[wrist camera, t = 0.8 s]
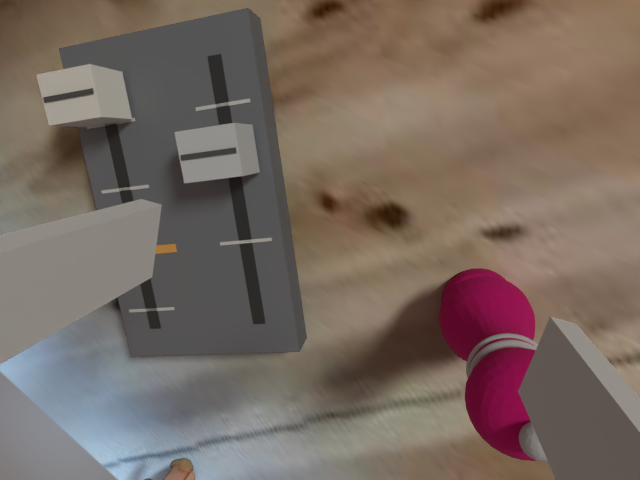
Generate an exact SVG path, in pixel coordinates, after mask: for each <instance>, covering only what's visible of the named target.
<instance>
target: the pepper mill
mask: <svg viewBox="0 0 640 480" xmlns="http://www.w3.org/2000/svg"><path fill="white" fill-rule="evenodd" d="M439 321H440V327H441V330H442V333H443V335H444V338H445V340H446V342H447V343H448V345H449V346H450V348H451V349H452V350H453V351H454V352H455V353H456V354H457V355H458V356H459V357H461V358H462V359H463V360H465V361H467V366H466V372H467V377H468V380H467V382H466V391H465V402H466V409H467V412H468V415H469V417H470V420H471V422H472V424H473V426H474V427H475V429H476V431H477V432H478V433H479V434H480V436H481V437H482V438H483V439H484V440H485V441H486V442H487V443H488V444H489V445H490V446H492V447H493V448H495V449H496V450H498V451H500V452H501V453H503V454H506V455H508V456H510V457H513V458H517V459H521V460H530V461H536V460H537V461H548V460H547V458H546V456H545V453H544V451H543V449H542V446H541V444H540V442H539V439H538V437H537V435H536V432H535V430H534V428H533V425H532V423H531V421H530V418H529V416H528V413H527V411H526V409H525V406H524V404H523V402H522V399H521V397H520V395H519V392H518V391H519V388H520V386H521V384H522V381H523V379H524V377H525V374H526V372H527V370H528V367H529V365H530V363H531V360H532V358H533V356H534V353H535V351H536V349H537V346H538V344H537V343H536V342H534V341H533V338H534V334H535V316H534V313H533V310H532V307H531V305H530V303H529V301H528V300H527V298H526V296H525V295H524V294H523V292H522V291H520V290H519V289H518V288H517V287H516V286H514V285H513V284H511V283H510V282H508V281H506V280H505V279H504V278H503V277H502V276H500V275H499V274H497V273H495V272H493V271H490V270H487V269H470V270H466V271H463V272H461V273H459V274H457V275H456V276H454V277H453V278H452V279H451V280H450V281H449V282H448V284H447V285H446V287H445V289H444V291H443V295H442V306H441V309H440V315H439Z"/></svg>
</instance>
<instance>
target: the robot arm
mask: <svg viewBox="0 0 640 480" xmlns="http://www.w3.org/2000/svg"><path fill="white" fill-rule="evenodd" d="M161 207H162V205H161V204H158V203H154V202H151V201H147V200H144V199H139V200H135V201H132V202H128V203H124V204H120V205H116V206H112V207H108V208H104V209H100V210H96V211H92V212H88V213H84V214H80V215H76V216H73V217H69V218H65V219H61V220H57V221H53V222H49V223H45V224H41V225H37V226H33V227H29V228H25V229H21V230H17V231H13V232H10V233H6V234H2V235H0V364H1V363H3V362H5V361H7V360H8V359H10V358H12V357H14V356H15V355H17V354H19V353H21V352H22V351H24V350H26V349H28V348H29V347H31V346H33V345H35V344H36V343H38V342H40V341H42V340H43V339H45V338H47V337H49V336H50V335H52V334H54V333H56V332H57V331H59V330H61V329H63V328H64V327H66V326H68V325H70V324H71V323H73V322H75V321H77V320H78V319H80V318H82V317H84V316H85V315H87V314H89V313H91V312H92V311H94V310H96V309H98V308H99V307H101V306H103V305H105V304H106V303H108V302H110V301H112V300H113V299H115V298H117V297H119V296H120V295H122V294H124V293H126V292H127V291H129V290H131V289H133V288H134V287H136V286H138V285H140V284H141V283H143V282H145V281H147V280H148V279H150V278H152V275H153V268H154V260H155V252H156V245H157V237H158V229H159V222H160V214H161ZM518 392H519V395H520V397H521V399H522V402H523V404H524V406H525V409H526V411H527V413H528V416H529V418H530V421H531V423H532V425H533V428H534V430H535V432H536V435H537V437H538V439H539V442H540V444H541V446H542V449H543V451H544V453H545V456H546V458H547V460H548V463H549V465H550V467H551V470H552V472H553V474H554V477H555V479H556V480H640V396H639V395H638V394H637V393H636V392H635V391H634V390H633V388H632V387H631V386H630V385H629V384H628V383H627V382H626V380H625V379H624V378H623V377H622V376H621V375H620V374H619V373H618V371H617V370H616V369H615V368H614V367H613V366H612V365H611V363H610V362H609V361H608V360H607V359H606V358H605V357H604V355H603V354H602V353H601V352H600V351H599V350H598V349H597V347H596V346H595V345H594V344H593V343H592V342H591V341H590V339H589V338H588V337H587V336H586V335H585V334H584V333H583V331H582V330H581V329H580V328H579V327H578V326H577V325H576V324H574V323H571V322H567V321H564V320H560V319H557V318H553V317H550V319H549V321H548V323H547V325H546V328H545V330H544V332H543V335H542V337H541V339H540V342H539V344H538V346H537V349H536V351H535V353H534V356H533V358H532V360H531V363H530V365H529V367H528V370H527V372H526V374H525V377H524V379H523V381H522V384H521V386H520V388H519V391H518Z"/></svg>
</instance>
